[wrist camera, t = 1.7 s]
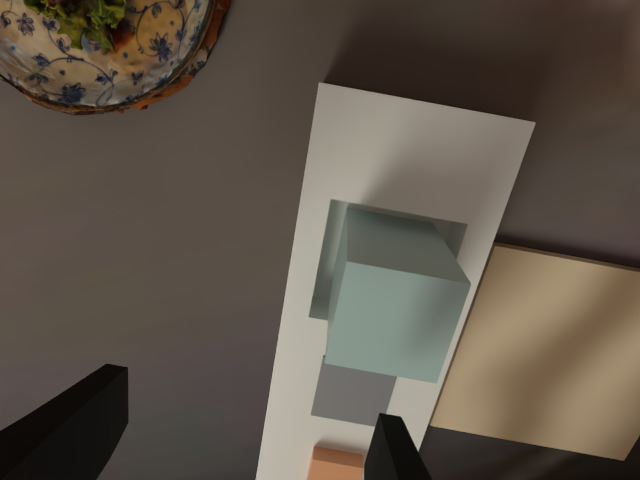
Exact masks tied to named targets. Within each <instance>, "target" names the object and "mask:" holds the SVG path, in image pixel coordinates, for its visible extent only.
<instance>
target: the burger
mask: <svg viewBox="0 0 640 480" xmlns="http://www.w3.org/2000/svg"><path fill="white" fill-rule="evenodd" d="M229 3H230V0H0V79H1V80H2V81H5V82H7V83H9V84H11V85H12V86H13V87H15V88H16V89H18V90H19V91H20V92H22V93H23V94H24V95H25V96H26V97H27V99H29V100H31V101H32V102H34V103H37V104H39V105H41V106H43V107H45V108H48V109H52V110H55V111H59V112H63V113H67V114H71V115H89V114H104V112H115V111H119V112H120V114H123V113H124V109H129V108H130V107H136V108H138V109H139V110H140V109H147V108H146V106H145V105H148V104H150V103H154V102H157V101H160V100H162V99H164V98H166V97H168V96H170V95H172V94H174V93H176V92H177V91H179V90H181V89H182V88H184V87H185V86H187V85H188V84H189V82H191V80H192V79H193V78H194V75H195V74H196V73H197V72H198V71H199V70H200V69H201V68H203V67H204V66H205V63H206V59H207V54H208V53H209V51H210V49H211V47H212V46H213V44H214V43H215V42H216V41H217V31H218V28H219V26H220V24H221V20H222V17H223V15H224V13H225V12H226V11H227V10H228V8H229V5H230V4H229Z"/></svg>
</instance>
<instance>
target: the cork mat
mask: <svg viewBox="0 0 640 480" xmlns="http://www.w3.org/2000/svg"><path fill="white" fill-rule="evenodd" d="M429 423H430V426H435V427H440V428H446V429H451V430H457V431H462V432H468V433H473V434H479V435H484V436H490V437H495V438H501V439H507V440H512V441H518V442H523V443H529V444H534V445H540V446H545V447H551V448H556V449H562V450H568V451H573V452H579V453H584V454H590V455H595V456H601V457H606V458H612V459H617V460H623V461H624V460H625V458H626V456H627V455H628V453H629V452H630V450H631V448H632V447H633V445H634V444H635V442H636V440H637V439H638V437H639V436H640V268H635V267H629V266H624V265H619V264H613V263H608V262H602V261H597V260H591V259H586V258H580V257H575V256H569V255H564V254H558V253H553V252H548V251H542V250H537V249H531V248H526V247H520V246H515V245H509V244H504V243H498V242H493V244H492V247H491V249H490V252H489V255H488V258H487V261H486V263H485V266H484V269H483V272H482V275H481V277H480V280H479V283H478V286H477V289H476V291H475V294H474V297H473V300H472V303H471V305H470V308H469V311H468V314H467V317H466V319H465V322H464V325H463V328H462V331H461V333H460V336H459V339H458V342H457V345H456V347H455V350H454V353H453V356H452V359H451V361H450V364H449V367H448V370H447V373H446V375H445V378H444V381H443V384H442V387H441V389H440V392H439V395H438V398H437V401H436V403H435V406H434V409H433V412H432V415H431V417H430V420H429Z"/></svg>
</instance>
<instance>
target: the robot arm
mask: <svg viewBox="0 0 640 480" xmlns="http://www.w3.org/2000/svg"><path fill="white" fill-rule="evenodd" d="M127 424H128V367H122V366H117V365H111V364H105V365H104V366H102V367H101V368H99V369H98V370H96V371H94V372H93V373H91V374H90V375H88V376H87V377H85V378H84V379H82V380H81V381H79V382H78V383H76V384H75V385H73V386H72V387H70V388H69V389H67V390H65V391H64V392H62V393H61V394H59V395H58V396H56V397H55V398H53V399H52V400H50V401H48V402H47V403H45V404H44V405H42V406H41V407H39V408H37V409H36V410H34V411H33V412H31V413H30V414H28V415H26V416H25V417H23V418H21V419H20V420H18V421H16V422H15V423H13V424H11V425H10V426H8V427H6V428H4V429H3V430H1V431H0V480H96V479H97V478H98V476H99V475H100V473H101V472H102V470H103V469H104V467H105V465H106V464H107V462H108V461H109V459H110V457H111V455H112V454H113V452H114V450H115V448H116V446H117V444H118V442H119V440H120V438H121V436H122V434H123V432H124V430H125V428H126V426H127ZM364 480H433V479H432V477H431V475H430V473H429V472H428V470H427V468H426V466H425V464H424V462H423V460H422V458H421V456H420V454H419V452H418V450H417V448H416V446H415V444H414V442H413V440H412V438H411V436H410V434H409V431H408V429H407V427H406V425H405V423H404V421H403V419H402V418H401V416H395V415H390V414H384V413H379V416H378V419H377V423H376V426H375V429H374V433H373V436H372V440H371V443H370V446H369V450H368V453H367V457H366V460H365V464H364Z"/></svg>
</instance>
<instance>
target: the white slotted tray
mask: <svg viewBox="0 0 640 480" xmlns="http://www.w3.org/2000/svg"><path fill="white" fill-rule="evenodd" d="M535 123H536V122H531V121H526V120H521V119H516V118H511V117H505V116H500V115H495V114H489V113H484V112H478V111H473V110H468V109H462V108H457V107H451V106H446V105H441V104H435V103H430V102H424V101H419V100H414V99H408V98H403V97H397V96H392V95H387V94H381V93H376V92H370V91H365V90H359V89H354V88H349V87H343V86H338V85H332V84H327V83H320V82H319V86H318V92H317V98H316V105H315V111H314V117H313V123H312V130H311V136H310V142H309V149H308V155H307V161H306V167H305V174H304V180H303V186H302V192H301V199H300V205H299V211H298V218H297V224H296V230H295V236H294V243H293V249H292V255H291V262H290V268H289V274H288V280H287V287H286V293H285V299H284V306H283V312H282V318H281V324H280V331H279V337H278V343H277V350H276V356H275V362H274V368H273V375H272V381H271V387H270V394H269V400H268V406H267V412H266V419H265V425H264V431H263V438H262V444H261V450H260V456H259V463H258V469H257V475H256V480H364V464H365V460H366V457H367V453H368V450H369V446H370V443H371V440H372V436H373V433H374V429H375V426H376V423H377V419H378V416H379V413H384V414H390V415H395V416H401V418H402V419H403V421H404V423H405V425H406V427H407V429H408V431H409V434H410V436H411V438H412V440H413V442H414V444H415V446H416V448H417V450H418V451H419V448H420V445H421V443H422V440H423V437H424V434H425V431H426V429H427V426H428V423H429V420H430V417H431V415H432V412H433V409H434V406H435V403H436V401H437V398H438V395H439V392H440V389H441V387H442V384H443V381H444V378H445V375H446V373H447V370H448V367H449V364H450V361H451V359H452V356H453V353H454V350H455V347H456V345H457V342H458V339H459V336H460V333H461V331H462V328H463V325H464V322H465V319H466V317H467V314H468V311H469V308H470V305H471V303H472V300H473V297H474V294H475V291H476V289H477V286H478V283H479V280H480V277H481V275H482V272H483V269H484V266H485V263H486V261H487V258H488V255H489V252H490V249H491V247H492V244H493V241H494V238H495V235H496V233H497V230H498V227H499V224H500V221H501V219H502V216H503V213H504V210H505V207H506V205H507V202H508V199H509V196H510V193H511V191H512V188H513V185H514V182H515V179H516V177H517V174H518V171H519V168H520V165H521V163H522V160H523V157H524V154H525V151H526V149H527V146H528V143H529V140H530V137H531V135H532V132H533V129H534V126H535ZM347 207H348V208H353V209H359V210H364V211H370V212H375V213H381V214H386V215H391V216H397V217H402V218H408V219H413V220H419V221H424V222H430V223H433V224H434V225H435V227H436V228H437V230H438V232H439V233H440V235H441V236H442V238H443V240H444V241H445V243H446V244H447V246H448V248H449V249H450V251H451V252H452V254H453V256H454V257H455V259H456V260H457V262H458V264H459V265H460V267H461V268H462V270H463V271H464V273H465V275H466V276H467V278H468V279H469V281H470V283H471V287H470V290H469V292H468V295H467V298H466V301H465V304H464V307H463V310H462V312H461V315H460V318H459V321H458V324H457V327H456V330H455V332H454V335H453V338H452V341H451V344H450V347H449V350H448V352H447V355H446V358H445V361H444V364H443V367H442V370H441V372H440V375H439V378H438V381H437V384H436V383H430V382H424V381H419V380H413V379H408V378H402V377H397V376H391V375H386V374H380V373H375V372H369V371H364V370H358V369H353V368H347V367H342V366H336V365H331V364H325V353H326V340H327V327H328V314H329V301H330V288H331V281H332V276H333V271H334V266H335V261H336V257H337V252H338V247H339V242H340V237H341V232H342V227H343V222H344V217H345V213H346V208H347Z"/></svg>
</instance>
